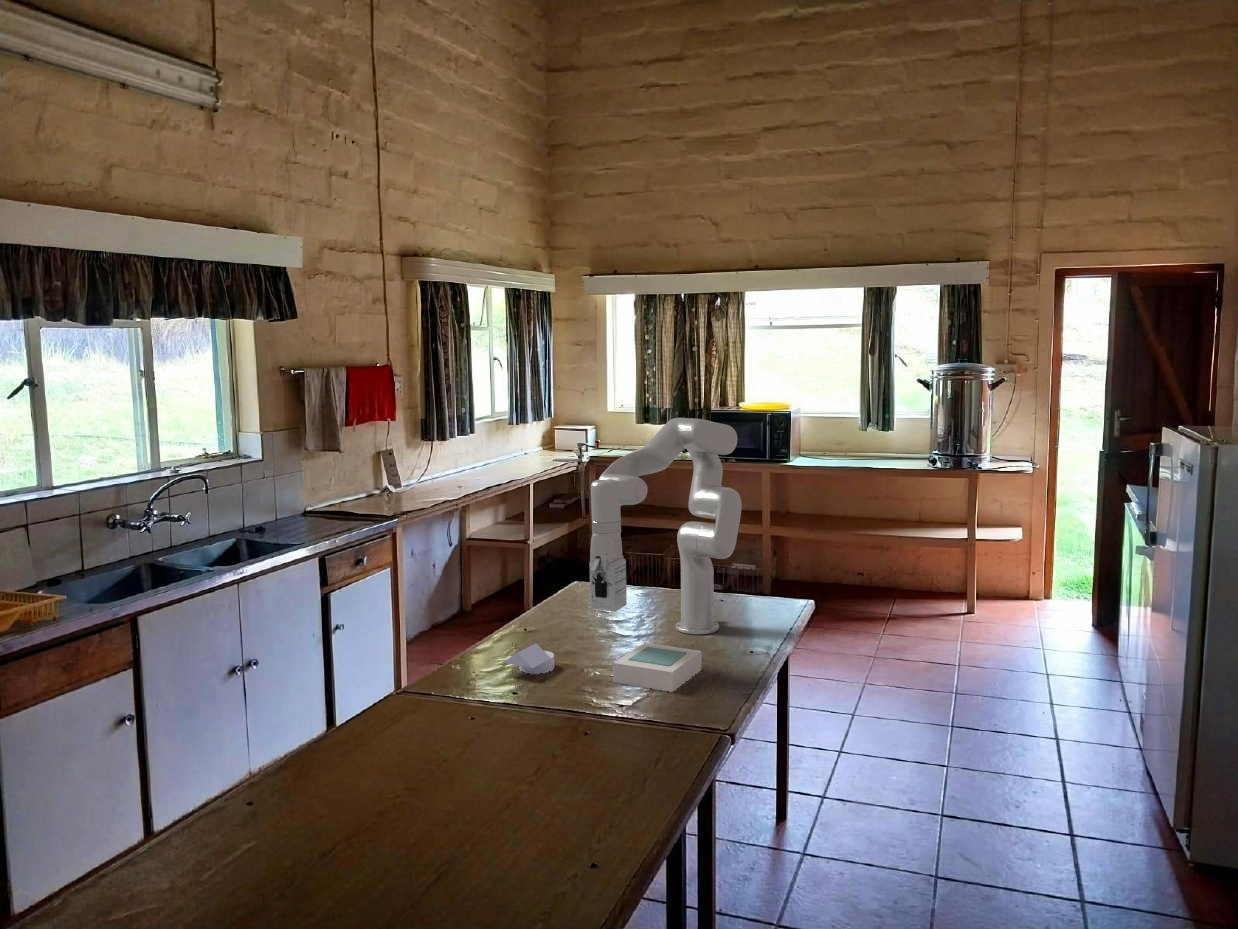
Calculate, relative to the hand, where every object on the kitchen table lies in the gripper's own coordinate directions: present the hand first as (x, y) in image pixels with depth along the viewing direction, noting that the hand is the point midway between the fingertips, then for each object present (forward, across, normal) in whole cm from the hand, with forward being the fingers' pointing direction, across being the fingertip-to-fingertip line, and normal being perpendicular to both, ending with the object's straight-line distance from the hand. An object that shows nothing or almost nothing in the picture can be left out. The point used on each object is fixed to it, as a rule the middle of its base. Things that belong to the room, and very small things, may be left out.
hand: (608, 592), depth 257 cm
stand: (+18, +6, +17) cm, 25 cm away
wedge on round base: (+18, +16, -14) cm, 28 cm away
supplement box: (+4, 0, 0) cm, 4 cm away
